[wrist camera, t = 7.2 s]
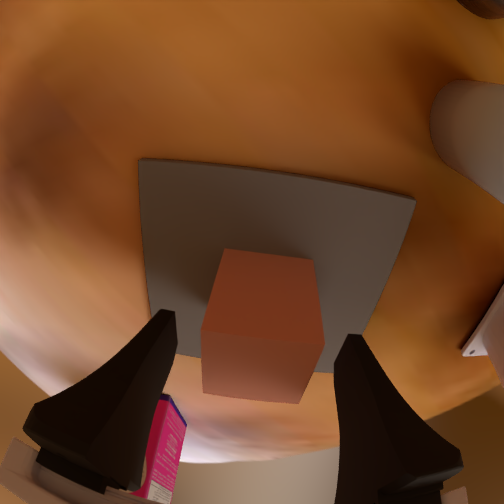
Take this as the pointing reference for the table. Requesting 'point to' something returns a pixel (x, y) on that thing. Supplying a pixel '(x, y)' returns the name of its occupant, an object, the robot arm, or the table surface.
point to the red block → (261, 328)
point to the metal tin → (485, 8)
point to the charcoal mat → (266, 239)
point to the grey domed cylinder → (471, 132)
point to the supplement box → (162, 453)
